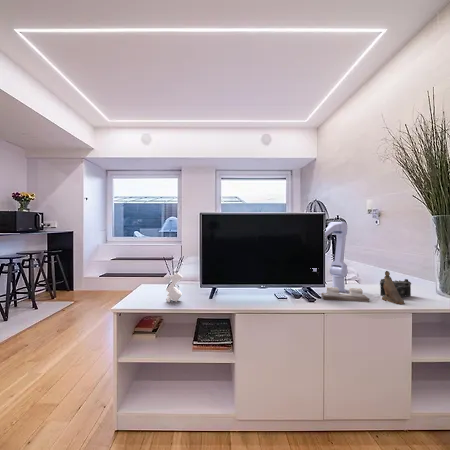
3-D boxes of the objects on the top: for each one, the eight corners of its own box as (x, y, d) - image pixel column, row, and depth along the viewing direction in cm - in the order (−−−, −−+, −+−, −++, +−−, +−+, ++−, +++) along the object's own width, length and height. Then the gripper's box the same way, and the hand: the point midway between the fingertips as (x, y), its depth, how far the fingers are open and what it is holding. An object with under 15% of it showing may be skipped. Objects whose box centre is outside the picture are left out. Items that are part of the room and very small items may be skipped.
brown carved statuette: (381, 303, 168) (376, 271, 172) (389, 302, 169) (384, 271, 173) (397, 304, 157) (391, 270, 160) (406, 304, 158) (400, 269, 162)
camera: (385, 298, 169) (385, 281, 169) (378, 294, 179) (378, 278, 178) (417, 299, 168) (417, 281, 168) (408, 295, 177) (408, 278, 177)
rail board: (321, 295, 178) (321, 285, 178) (364, 297, 173) (364, 287, 173) (323, 299, 168) (323, 289, 168) (369, 301, 163) (369, 291, 163)
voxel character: (159, 290, 171) (174, 269, 170) (175, 302, 171) (191, 281, 170) (156, 293, 163) (172, 271, 163) (173, 306, 163) (189, 284, 163)
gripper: (306, 257, 185) (306, 279, 185) (307, 260, 171) (307, 283, 171) (317, 257, 183) (318, 279, 184) (320, 260, 169) (320, 284, 169)
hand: (313, 281), depth 177 cm, fingers closed on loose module, 5 cm apart
